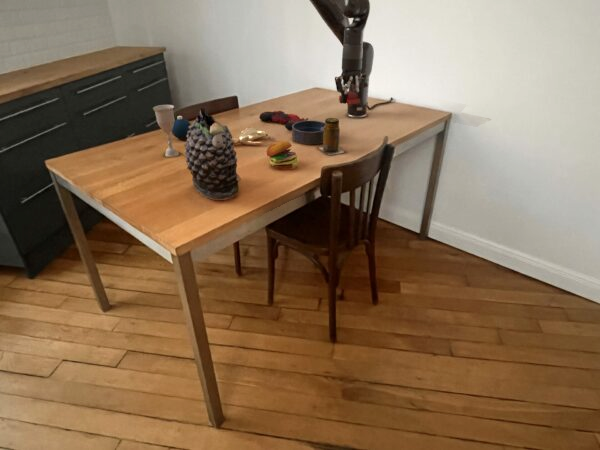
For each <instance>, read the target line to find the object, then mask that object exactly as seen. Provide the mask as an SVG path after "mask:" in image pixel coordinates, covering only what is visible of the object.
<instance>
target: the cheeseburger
mask: <svg viewBox="0 0 600 450" xmlns="http://www.w3.org/2000/svg"><path fill="white" fill-rule="evenodd" d="M291 147H292V144H291V143H290V142H289V141H288V140H282V141H278V142H274V143H271V144H269V146H268V147H267V150H266V156H267V157H269V164H270V165H271V167H272V168H273V169H275V170H290V169H292V170H294V169H297V167H298V154H297V152H295V151H291V150H292V148H291Z"/></svg>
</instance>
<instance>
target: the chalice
mask: <svg viewBox="0 0 600 450" xmlns="http://www.w3.org/2000/svg"><path fill="white" fill-rule="evenodd" d="M174 108H175V106H174V105H173V104H159V105H156V106H153V107H152V110H153V111H154V113H155V118H156V122H157V125H158V126H159V127H160V129H161V130H162V132H163V133H165V134H166V139H167V143H166V144H168V147H167V148H166V150H165V157H167V158H173V157H178V156H179V155H180V154H179V152H178V150H177V149H176V148H175V147H173V144H172V143H173V141H172V136H171V133H172V129H173V126H174V121H175V120H176V119H175V114H174Z"/></svg>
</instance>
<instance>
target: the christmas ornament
mask: <svg viewBox="0 0 600 450" xmlns="http://www.w3.org/2000/svg"><path fill="white" fill-rule="evenodd" d="M191 125H192V123H191V122H190V121H189V120H188V119H186V118H183V116H182V115H178V116H177V118H176V119H175V121H174V126H173V129H172V131H171V133H172V135H173V136H174V137H175V138H176V139H179V140H187V137H186V136H187V135H188V133H187V132H188V131H189V130H190V129H189V126H191Z"/></svg>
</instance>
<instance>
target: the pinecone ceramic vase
mask: <svg viewBox="0 0 600 450" xmlns="http://www.w3.org/2000/svg"><path fill="white" fill-rule="evenodd" d="M189 129H190V130H189V131H188V132H187V133H188V135H187V136H186V137H187V138H186V141H185V142H184V144H183V146H184V147H185V151H184V155H185V158H186V159H185V162H186V165H187V167H186V169H187V170H188V171H190V174H191V177H192V178H191V179H192V183H193V187H194V188H195V189H196V191H197V192H199V194H200V195H201V196H202V197H205V198H207V199H211V200H215V201H225V200H228V199H231V198H233V197H234V196H235V195H236V194H238V193H239V189H240V188H239V187H240V184H239V182H240V181H241V180H242V178H241V176H240V174H238V173H237V167H238V163H237V162H238V158H237V151H235V145H233V139H234V138H233V136H232V134H231V131H230V129H229V127H228V126H227V125H226V124H225V125H222V124H221V122H219V121H217V120H216V118H214V117H213V115H210V114H209V113H208V112H207V111H206V110H205V109H204V108H203V107H202V108H200V109H199V115H196V119H194V121H193V123H191V126H189Z"/></svg>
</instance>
